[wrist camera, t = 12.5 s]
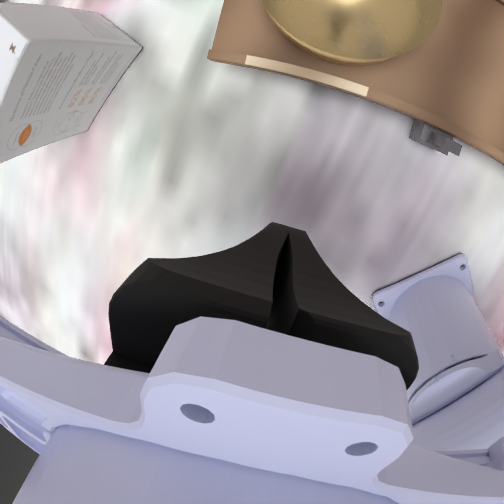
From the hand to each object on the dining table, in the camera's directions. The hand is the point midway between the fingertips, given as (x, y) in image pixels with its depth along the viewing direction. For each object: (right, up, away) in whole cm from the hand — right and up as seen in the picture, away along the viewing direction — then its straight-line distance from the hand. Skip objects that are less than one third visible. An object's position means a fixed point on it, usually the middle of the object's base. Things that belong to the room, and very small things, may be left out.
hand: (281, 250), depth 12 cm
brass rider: (+3, +12, -1) cm, 13 cm away
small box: (-13, +13, +7) cm, 20 cm away
